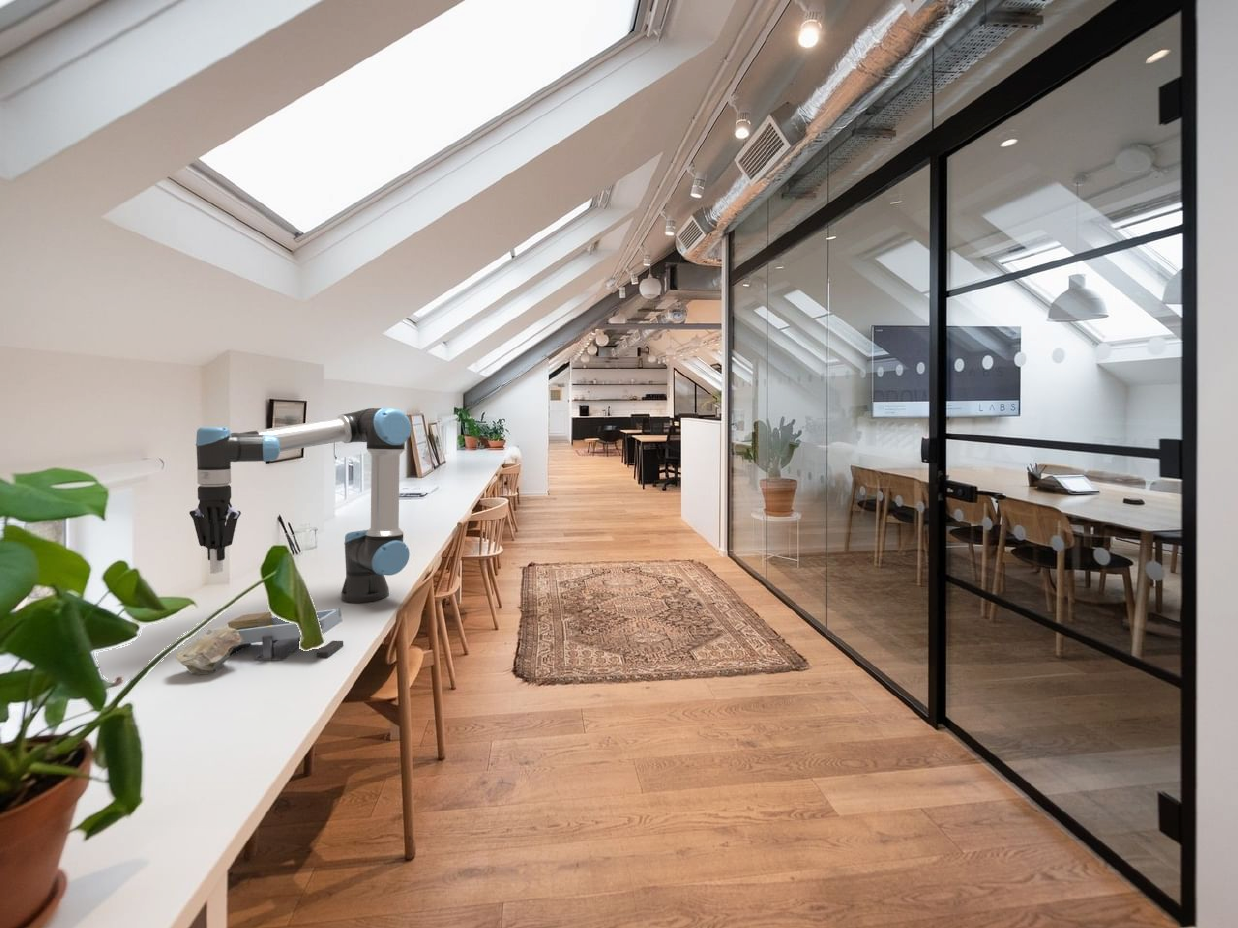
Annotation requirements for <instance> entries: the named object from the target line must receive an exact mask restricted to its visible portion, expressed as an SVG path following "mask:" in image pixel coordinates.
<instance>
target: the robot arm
mask: <svg viewBox="0 0 1238 928" xmlns="http://www.w3.org/2000/svg"><path fill="white" fill-rule="evenodd" d="M412 431H413V430H412V422H411V421H410V419H409V417H408V415H407V414H405V412H403V411H402V410H400V409H397V408H392V407H378V408H377V407H376V408H375V407H372V408H371V407H369V408H364V409H361V410H357V411H353V412H349V413H342V414H339V415H338V416H337V417H336V418H330V419H325V420H324V419H323V420H317V421H311V422H310V421H309V422H305V423H304V422H302V423H297V424H291V425H285V426H278V427H270V428H263V429H258V430H254V431H253V430H252V431H245V432H244V431H243V432H232V433H231V429H230V428H229V427H225V426H224V427H223V426H222V427H221V426H220V427H219V426H218V427H216V426H211V427H209V426H208V427H207V426H205V427H204V426H203V427H199V428H197V431H196V441H195V442H196V444H195V447H196V466H197V469H196V471H197V472H196V473H197V475H196V476H197V478H196V479H197V484H198V485H199V486H198V487H197V499H198V501H199V503H198V505H197V508H196V509H194V510H190V511H189V515H190V517H191V518H192V520H193V521H192V522H193V524H194V529H195V531H196V536H197V540H198V543H199V544H198V545H199V546H200V547H204V548H206V551H207V560H208V561H209V566H210V567H209V568H210V569H209V570H210V574H219V573H222V572H224V567H223V565H224V563H223V561H224V560H225V558H226V553H225V552H226V548H227V547H229V546H232V545H233V542H234V536H235V532H236V526H237V522H238V519H239V517H240V516H241V514H242V513H241V510H235V509H234V508H233V505H232V502H231V499H232V486H231V485H230V484H231V483H232V468H231V467H232V466H231V464H232V463H237V462H238V463H240V462H241V463H242V462H244V463H246V462H248V463H250V462H255V463H256V462H263V463H266V462H271V461H272V462H274V461H276V460H277V459H278V458H279V457H280V453H281V452H288V451H292V450H299V449H303V448H310V447H316V446H321V445H322V446H323V445H327V444H333V443H338V442H340V443H341V442H342V443H344V444H350V443H366V451H367V452H369V454H370V455H371V468H370V469H371V471H370V472H371V474H370V477H371V478H370V483H371V485H370V528H369V529H362V530H356V531H350V532H347V533H346V534H345V536H344V554H345V555H344V557H345V574H346V575H345V576H346V577H345V580H344V583H343V587H342V590H341V593H340V595H341V596H340V597H341V600H342V602H346V603H350V604H351V603H352V604H360V603H361V604H362V603H370V602H372V603H373V602H375V601H379V600H382V599H385V598H387V597H388V596H389V594H390V590H389V588H390V587H389V586H388V583H387V580H386V577H387V576H394V575H396V574H398V573H400V572H402V571H403V569H405V567H406V566H407V564H408V563H409V560H410V556H411V555H410V549H409V546H408V545H407V544H406V543H405V542H404V531H403V530H402V529H401V528H400V525H399V524H400V523H399V522H400V520H399V518H400V517H399V516H400V457H401V454H402V453H403V452H404V451H405V450H406V449H405V446H406V445H405V444H406V442H407V441H408V440H409V439H410V437H411V434H412ZM385 576H386V577H385ZM386 596H387V597H386Z"/></svg>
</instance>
